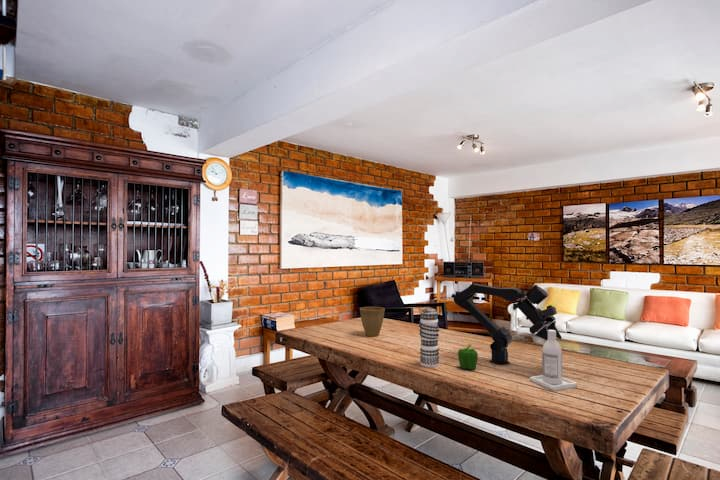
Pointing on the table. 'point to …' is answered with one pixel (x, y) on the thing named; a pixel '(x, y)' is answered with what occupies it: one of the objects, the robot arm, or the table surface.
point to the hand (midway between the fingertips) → (558, 340)
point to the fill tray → (565, 385)
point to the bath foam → (552, 360)
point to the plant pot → (372, 320)
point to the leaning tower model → (429, 337)
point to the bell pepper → (467, 358)
